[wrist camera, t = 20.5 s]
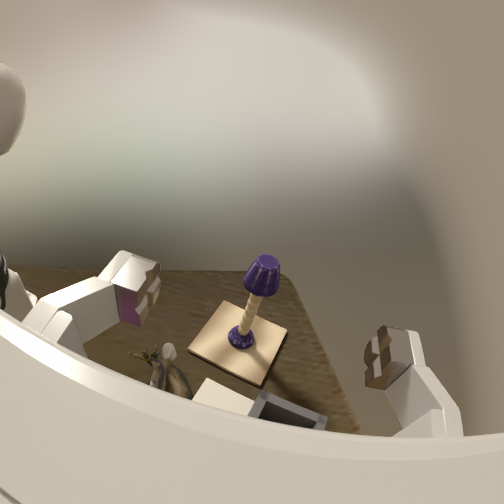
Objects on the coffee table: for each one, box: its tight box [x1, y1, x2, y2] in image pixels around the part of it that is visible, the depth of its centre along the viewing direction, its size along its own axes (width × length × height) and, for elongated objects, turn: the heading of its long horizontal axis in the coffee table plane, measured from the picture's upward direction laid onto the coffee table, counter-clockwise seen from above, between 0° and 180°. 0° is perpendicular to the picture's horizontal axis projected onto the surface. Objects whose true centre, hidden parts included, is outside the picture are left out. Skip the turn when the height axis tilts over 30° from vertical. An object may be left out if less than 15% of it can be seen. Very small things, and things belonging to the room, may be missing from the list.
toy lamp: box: [228, 254, 280, 349], centre depth 41 cm, size 5×5×17 cm
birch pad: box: [188, 300, 287, 387], centre depth 47 cm, size 12×12×1 cm
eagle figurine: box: [128, 343, 192, 400], centre depth 36 cm, size 8×7×9 cm
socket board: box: [192, 378, 328, 431], centre depth 29 cm, size 20×18×6 cm
